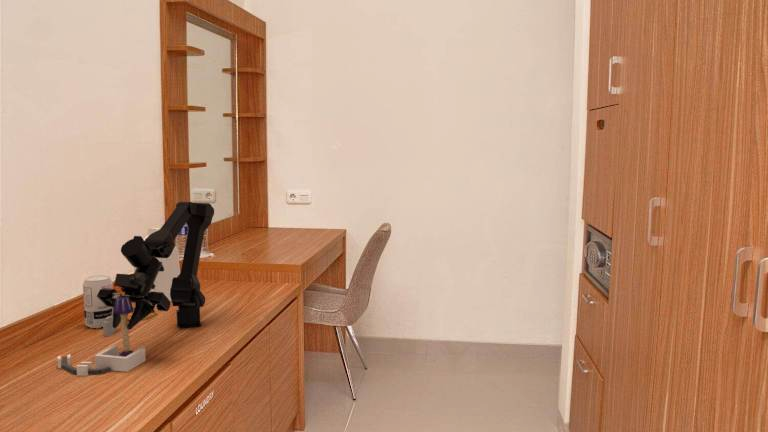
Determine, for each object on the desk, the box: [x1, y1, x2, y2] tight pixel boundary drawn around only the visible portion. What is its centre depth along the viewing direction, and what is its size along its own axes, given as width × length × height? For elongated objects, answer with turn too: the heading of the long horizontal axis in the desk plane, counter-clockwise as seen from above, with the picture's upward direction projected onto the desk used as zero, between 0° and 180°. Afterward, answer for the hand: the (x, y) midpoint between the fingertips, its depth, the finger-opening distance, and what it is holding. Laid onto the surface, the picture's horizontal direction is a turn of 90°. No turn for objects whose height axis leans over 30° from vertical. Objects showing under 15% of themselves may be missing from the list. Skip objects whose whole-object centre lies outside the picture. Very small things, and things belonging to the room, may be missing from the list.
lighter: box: [102, 310, 117, 337], centre depth 180 cm, size 7×2×8 cm, turn 171°
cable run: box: [61, 355, 112, 375], centre depth 152 cm, size 6×17×1 cm, turn 64°
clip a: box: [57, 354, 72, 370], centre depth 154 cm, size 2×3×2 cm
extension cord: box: [128, 303, 158, 322], centre depth 199 cm, size 12×16×2 cm
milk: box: [133, 227, 181, 307], centre depth 215 cm, size 12×12×26 cm
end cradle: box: [94, 344, 147, 373], centre depth 155 cm, size 8×9×4 cm
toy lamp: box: [114, 294, 134, 357], centre depth 156 cm, size 5×5×17 cm
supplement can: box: [82, 275, 114, 329], centre depth 186 cm, size 8×8×15 cm
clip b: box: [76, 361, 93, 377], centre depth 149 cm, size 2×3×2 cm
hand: (121, 328), depth 155 cm, fingers closed on toy lamp, 4 cm apart
